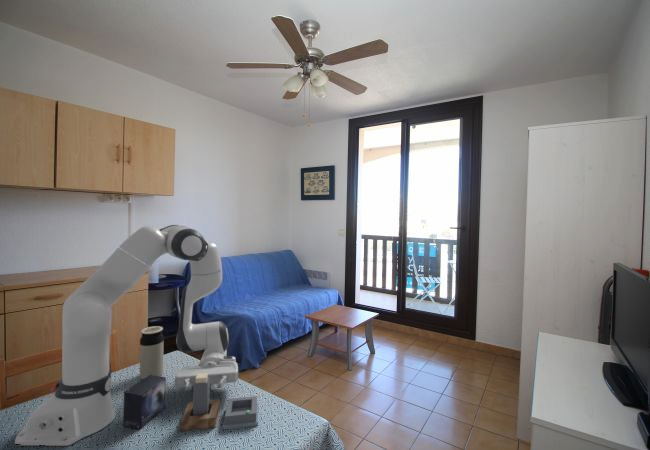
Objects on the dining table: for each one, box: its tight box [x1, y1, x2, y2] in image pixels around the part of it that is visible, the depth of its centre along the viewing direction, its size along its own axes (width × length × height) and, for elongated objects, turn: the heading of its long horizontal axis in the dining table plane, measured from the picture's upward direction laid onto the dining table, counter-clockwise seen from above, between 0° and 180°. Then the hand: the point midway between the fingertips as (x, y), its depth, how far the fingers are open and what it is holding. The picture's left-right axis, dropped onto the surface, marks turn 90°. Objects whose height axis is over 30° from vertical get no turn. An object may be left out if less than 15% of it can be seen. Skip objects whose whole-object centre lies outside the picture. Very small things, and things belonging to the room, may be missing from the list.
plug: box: [192, 373, 211, 416], centre depth 94 cm, size 4×4×14 cm
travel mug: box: [139, 325, 165, 380], centre depth 119 cm, size 8×8×18 cm
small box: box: [122, 375, 167, 430], centre depth 94 cm, size 11×6×10 cm, turn 168°
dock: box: [222, 395, 259, 430], centre depth 95 cm, size 10×10×4 cm
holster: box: [180, 398, 221, 432], centre depth 94 cm, size 9×9×3 cm
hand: (204, 387), depth 98 cm, fingers open, 8 cm apart
